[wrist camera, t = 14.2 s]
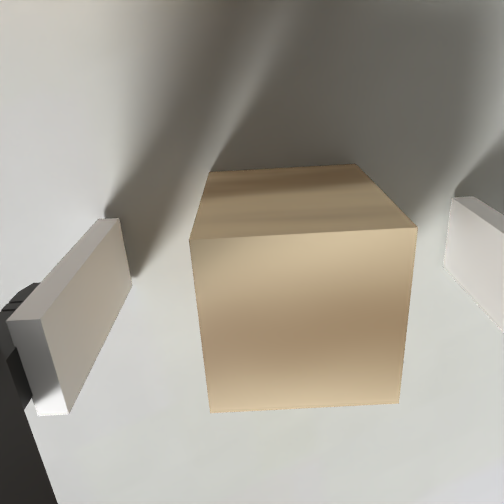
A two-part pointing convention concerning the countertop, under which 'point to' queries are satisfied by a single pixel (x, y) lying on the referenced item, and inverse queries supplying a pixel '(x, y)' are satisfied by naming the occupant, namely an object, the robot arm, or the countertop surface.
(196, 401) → the countertop surface
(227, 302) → the oak cube
